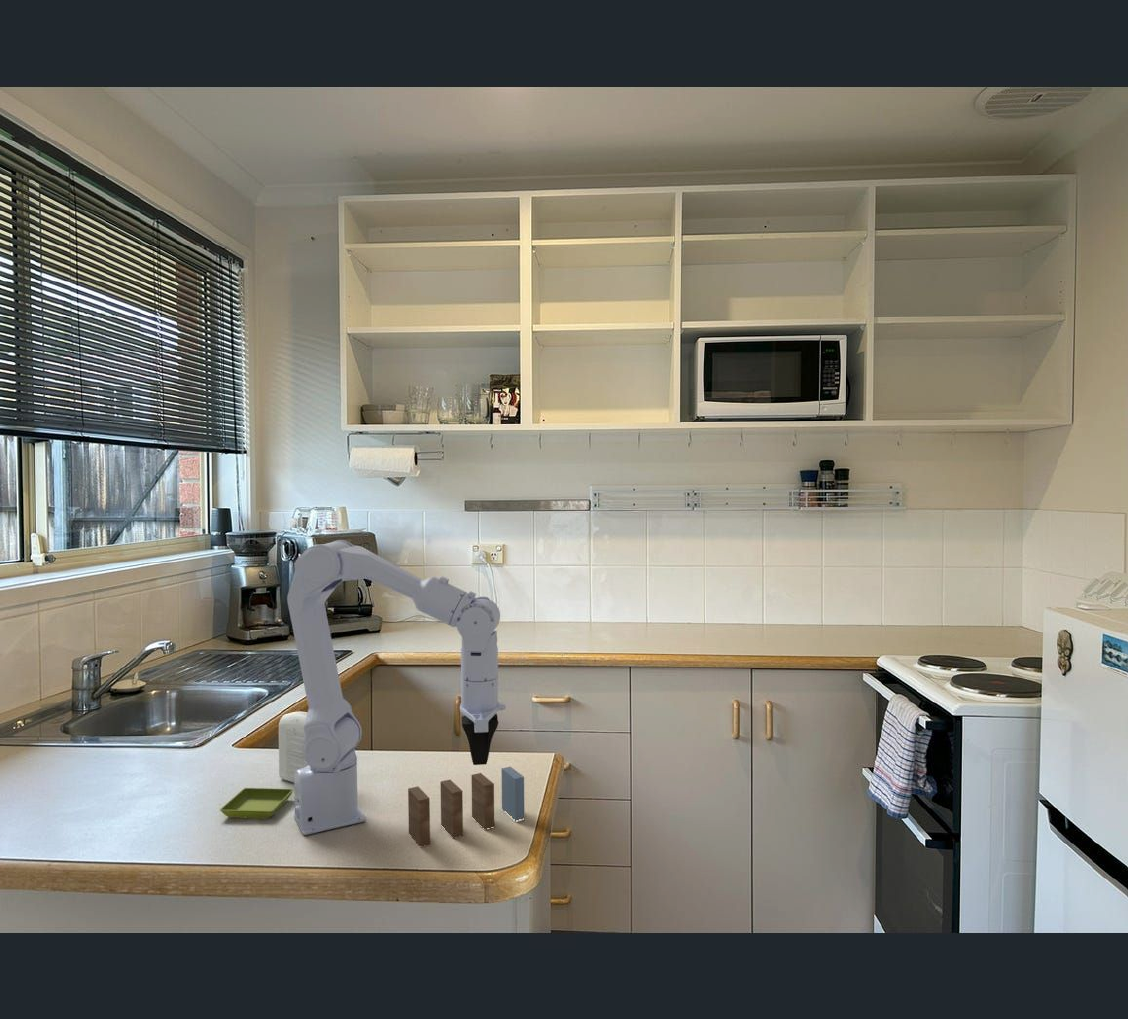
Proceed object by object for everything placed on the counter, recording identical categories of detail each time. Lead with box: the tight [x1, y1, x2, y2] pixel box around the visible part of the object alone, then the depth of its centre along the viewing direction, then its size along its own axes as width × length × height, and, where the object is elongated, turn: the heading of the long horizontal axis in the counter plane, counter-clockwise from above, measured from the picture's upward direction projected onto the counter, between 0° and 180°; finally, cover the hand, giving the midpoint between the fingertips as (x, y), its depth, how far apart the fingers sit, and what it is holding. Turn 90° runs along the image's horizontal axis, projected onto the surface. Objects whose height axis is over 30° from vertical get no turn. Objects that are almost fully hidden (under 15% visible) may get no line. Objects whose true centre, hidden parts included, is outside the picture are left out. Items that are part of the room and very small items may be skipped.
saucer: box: [219, 787, 294, 819], centre depth 125 cm, size 9×9×2 cm
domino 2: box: [440, 779, 464, 839], centre depth 116 cm, size 2×5×7 cm, turn 30°
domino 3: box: [471, 772, 495, 830], centre depth 119 cm, size 2×5×7 cm, turn 30°
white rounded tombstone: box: [278, 711, 308, 783], centre depth 136 cm, size 10×4×12 cm, turn 60°
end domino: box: [500, 766, 526, 821], centre depth 122 cm, size 2×5×7 cm, turn 30°
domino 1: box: [407, 786, 431, 847], centre depth 114 cm, size 2×5×7 cm, turn 30°
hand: (479, 763), depth 119 cm, fingers closed
